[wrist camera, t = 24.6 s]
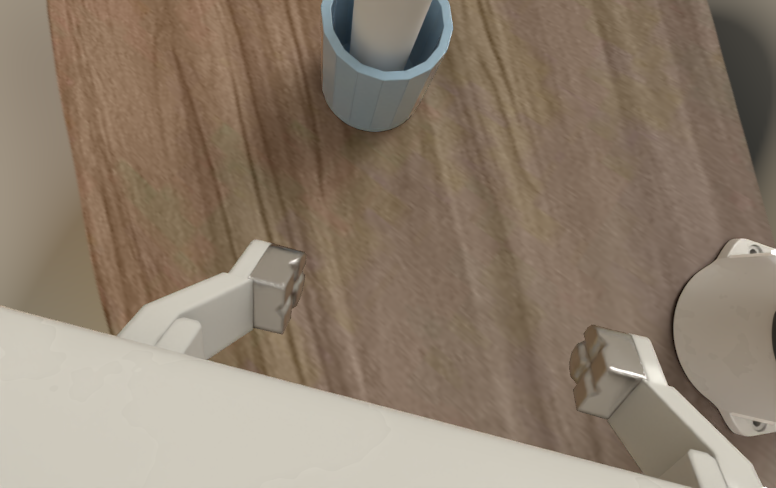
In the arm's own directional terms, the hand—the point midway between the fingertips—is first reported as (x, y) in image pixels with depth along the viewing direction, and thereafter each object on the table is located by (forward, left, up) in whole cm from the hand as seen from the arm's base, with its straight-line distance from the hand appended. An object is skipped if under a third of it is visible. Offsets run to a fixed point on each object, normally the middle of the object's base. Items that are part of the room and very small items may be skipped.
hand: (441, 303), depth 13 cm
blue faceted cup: (0, -22, -27) cm, 35 cm away
